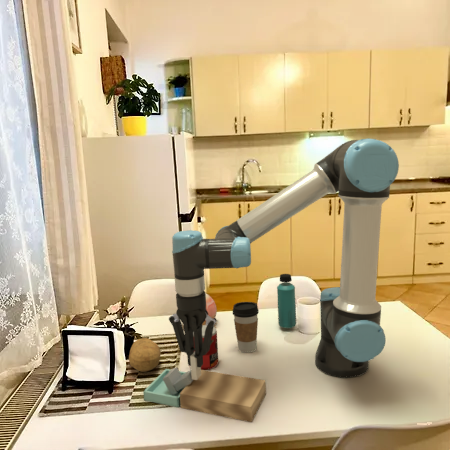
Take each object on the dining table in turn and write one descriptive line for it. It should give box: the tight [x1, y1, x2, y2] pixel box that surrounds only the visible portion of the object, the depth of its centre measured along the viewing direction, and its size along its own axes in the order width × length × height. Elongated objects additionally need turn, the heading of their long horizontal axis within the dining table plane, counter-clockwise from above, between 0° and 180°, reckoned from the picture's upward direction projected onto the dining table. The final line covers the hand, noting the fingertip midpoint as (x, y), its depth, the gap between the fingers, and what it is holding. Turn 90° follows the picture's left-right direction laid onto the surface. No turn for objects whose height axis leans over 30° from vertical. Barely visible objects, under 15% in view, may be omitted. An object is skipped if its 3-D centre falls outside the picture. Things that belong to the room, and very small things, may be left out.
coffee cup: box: [232, 301, 260, 353], centre depth 134 cm, size 8×8×15 cm
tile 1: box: [163, 366, 181, 395], centre depth 112 cm, size 5×5×2 cm
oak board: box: [180, 370, 267, 423], centre depth 107 cm, size 19×12×4 cm, turn 68°
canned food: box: [193, 325, 219, 371], centre depth 126 cm, size 8×8×11 cm
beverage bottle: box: [276, 273, 297, 329], centre depth 147 cm, size 6×7×20 cm
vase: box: [202, 293, 218, 325], centre depth 153 cm, size 14×14×18 cm
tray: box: [142, 368, 187, 408], centre depth 113 cm, size 10×12×2 cm
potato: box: [128, 337, 162, 373], centre depth 126 cm, size 10×14×8 cm
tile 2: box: [173, 369, 193, 391], centre depth 111 cm, size 5×5×2 cm
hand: (196, 376), depth 109 cm, fingers closed
